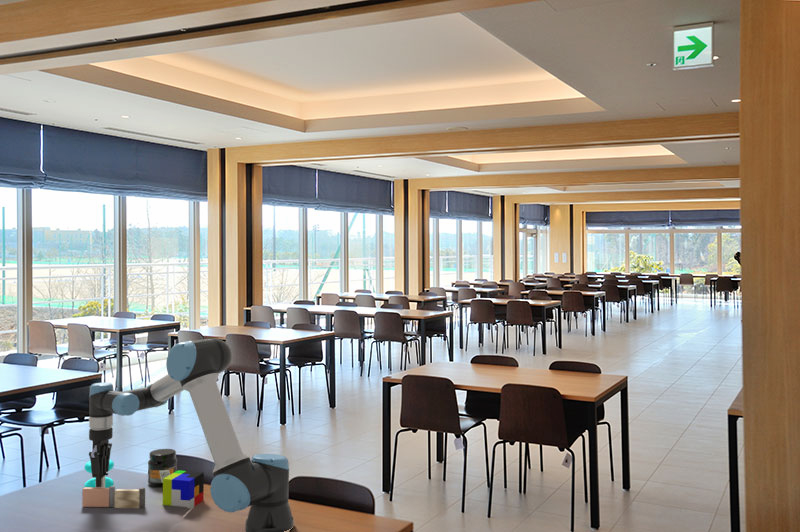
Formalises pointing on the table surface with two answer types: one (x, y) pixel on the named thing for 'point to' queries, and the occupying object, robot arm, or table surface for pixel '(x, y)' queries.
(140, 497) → the rail
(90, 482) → the donuts
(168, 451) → the supplement container
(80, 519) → the table surface
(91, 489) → the salmon gate panel
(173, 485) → the puzzle toy
